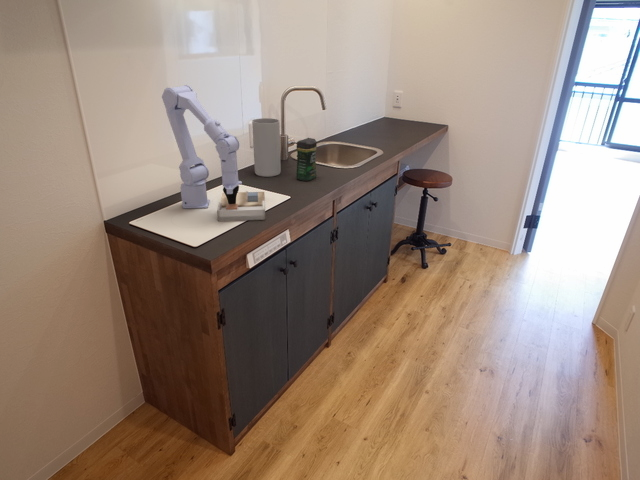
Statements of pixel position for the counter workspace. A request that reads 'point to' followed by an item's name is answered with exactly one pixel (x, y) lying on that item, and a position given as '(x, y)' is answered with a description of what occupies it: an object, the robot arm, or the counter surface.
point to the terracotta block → (232, 207)
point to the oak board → (243, 200)
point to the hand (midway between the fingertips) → (232, 205)
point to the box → (241, 213)
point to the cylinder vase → (266, 146)
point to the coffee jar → (306, 159)
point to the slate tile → (252, 196)
